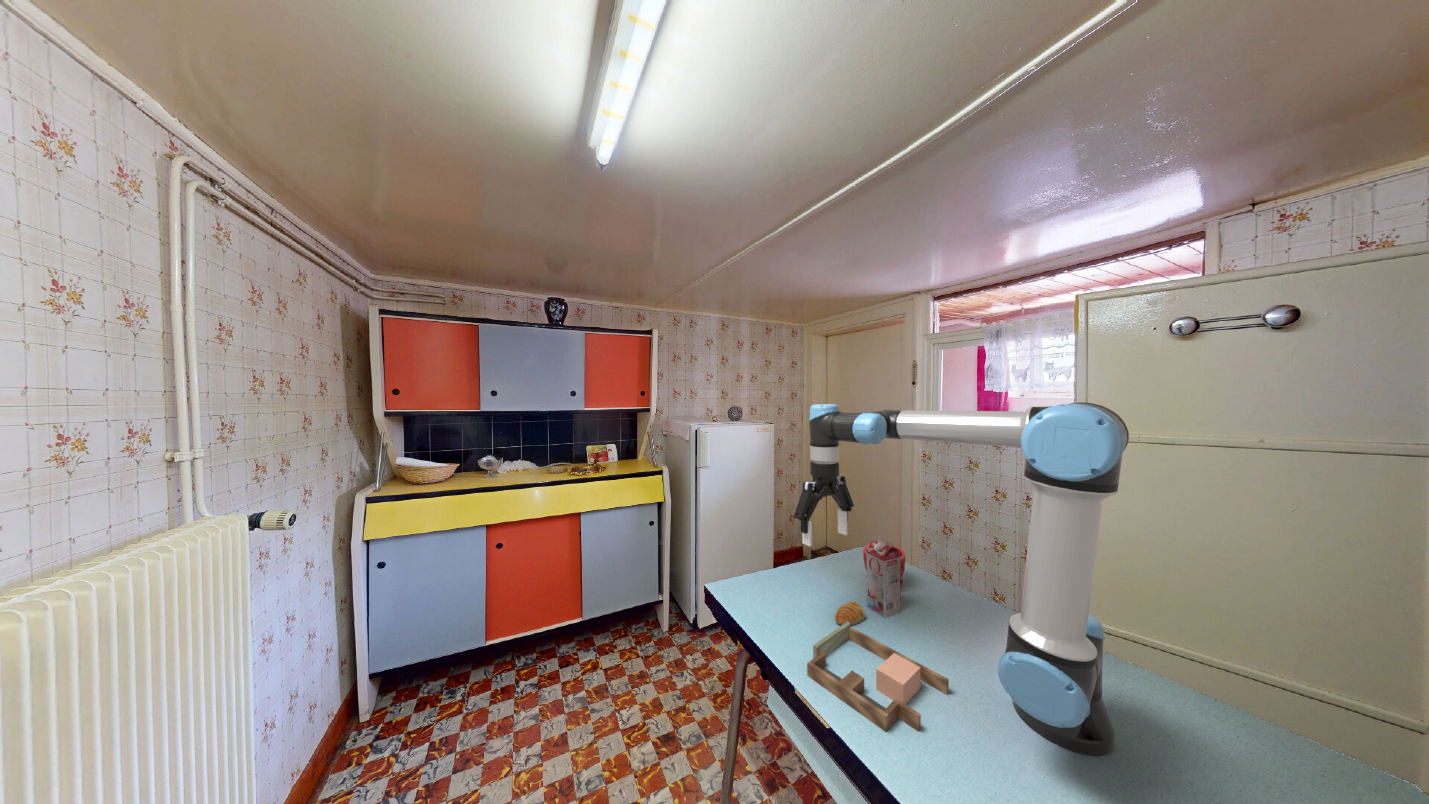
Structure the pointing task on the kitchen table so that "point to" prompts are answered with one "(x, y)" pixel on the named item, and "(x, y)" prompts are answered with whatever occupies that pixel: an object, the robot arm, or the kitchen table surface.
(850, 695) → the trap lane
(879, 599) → the juice carton
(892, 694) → the block
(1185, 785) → the kitchen table surface
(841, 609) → the pastry
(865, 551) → the plant pot
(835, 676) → the mats
